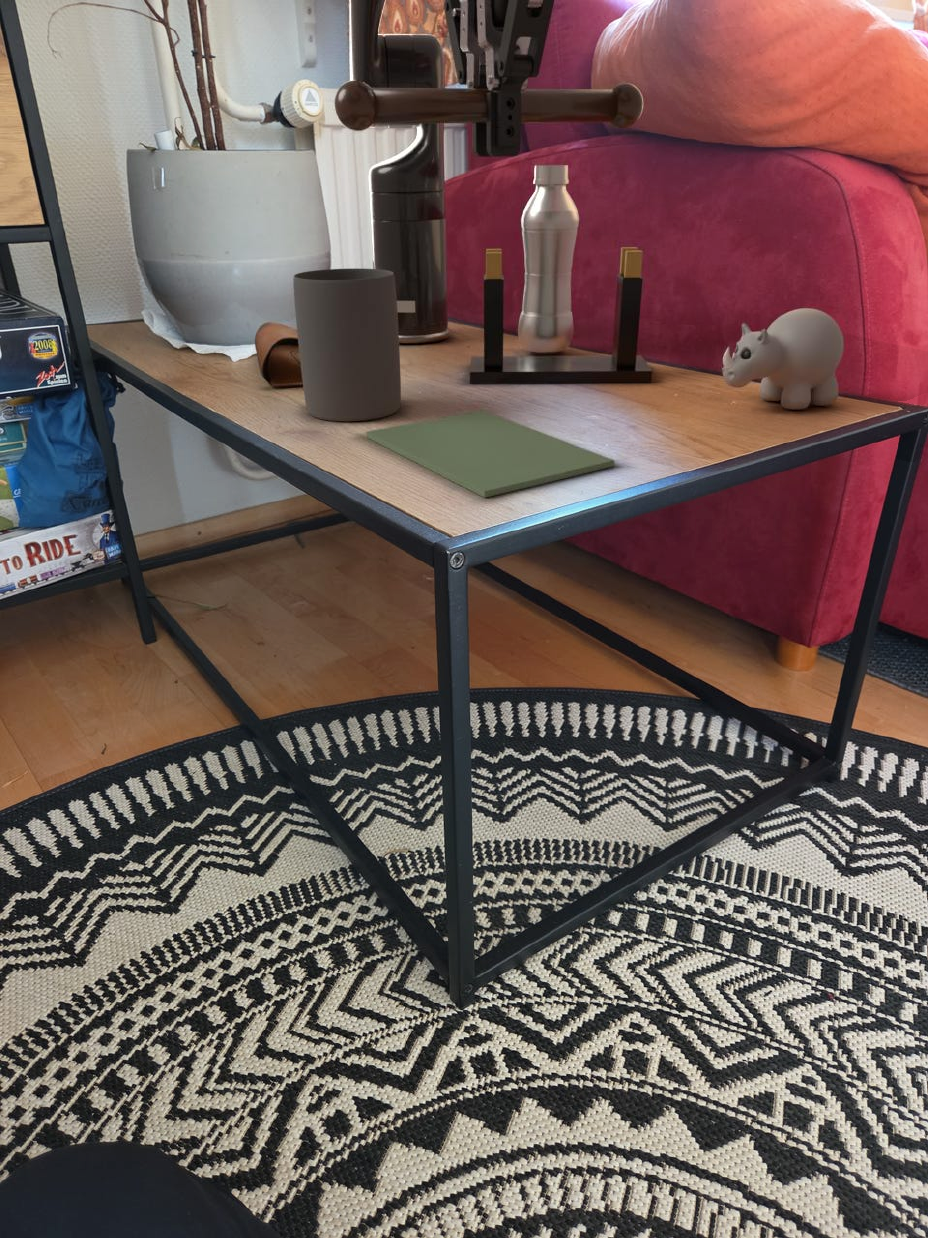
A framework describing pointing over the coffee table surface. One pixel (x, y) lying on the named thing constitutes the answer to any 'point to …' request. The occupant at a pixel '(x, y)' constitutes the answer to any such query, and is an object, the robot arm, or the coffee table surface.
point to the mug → (348, 343)
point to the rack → (564, 368)
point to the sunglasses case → (279, 355)
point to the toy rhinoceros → (790, 359)
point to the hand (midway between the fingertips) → (496, 155)
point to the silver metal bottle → (548, 263)
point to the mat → (488, 452)
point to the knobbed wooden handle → (483, 105)
